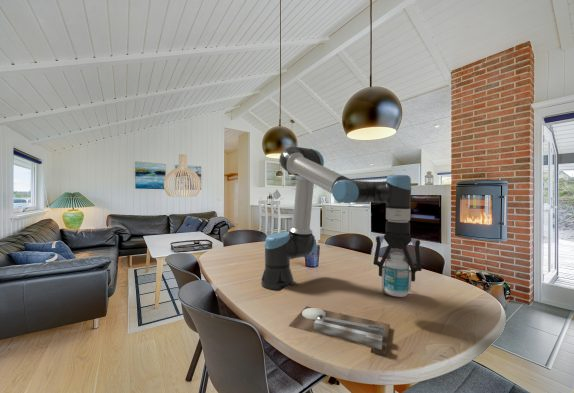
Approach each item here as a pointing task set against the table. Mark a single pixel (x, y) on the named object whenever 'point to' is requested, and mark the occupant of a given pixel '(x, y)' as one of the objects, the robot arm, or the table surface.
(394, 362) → the table surface
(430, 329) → the table surface
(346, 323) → the tong jaw
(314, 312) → the rest pad
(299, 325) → the board
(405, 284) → the pill bottle
